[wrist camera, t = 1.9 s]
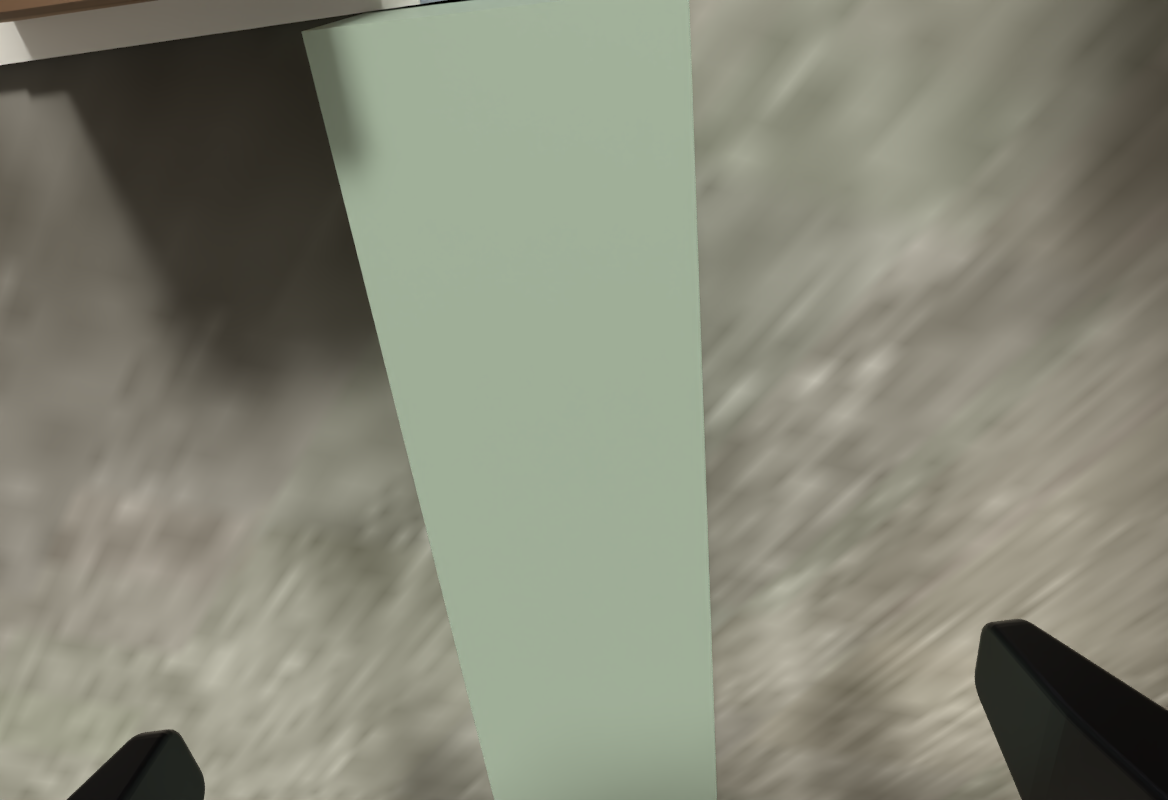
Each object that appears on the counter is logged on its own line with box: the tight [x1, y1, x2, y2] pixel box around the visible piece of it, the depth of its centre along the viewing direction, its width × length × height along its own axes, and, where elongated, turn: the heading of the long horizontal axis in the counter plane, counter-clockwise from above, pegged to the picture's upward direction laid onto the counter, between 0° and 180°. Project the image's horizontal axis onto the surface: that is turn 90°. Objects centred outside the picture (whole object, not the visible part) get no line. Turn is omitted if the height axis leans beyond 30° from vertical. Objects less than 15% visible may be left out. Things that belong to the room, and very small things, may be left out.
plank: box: [301, 0, 717, 800], centre depth 13 cm, size 4×14×4 cm, turn 6°
